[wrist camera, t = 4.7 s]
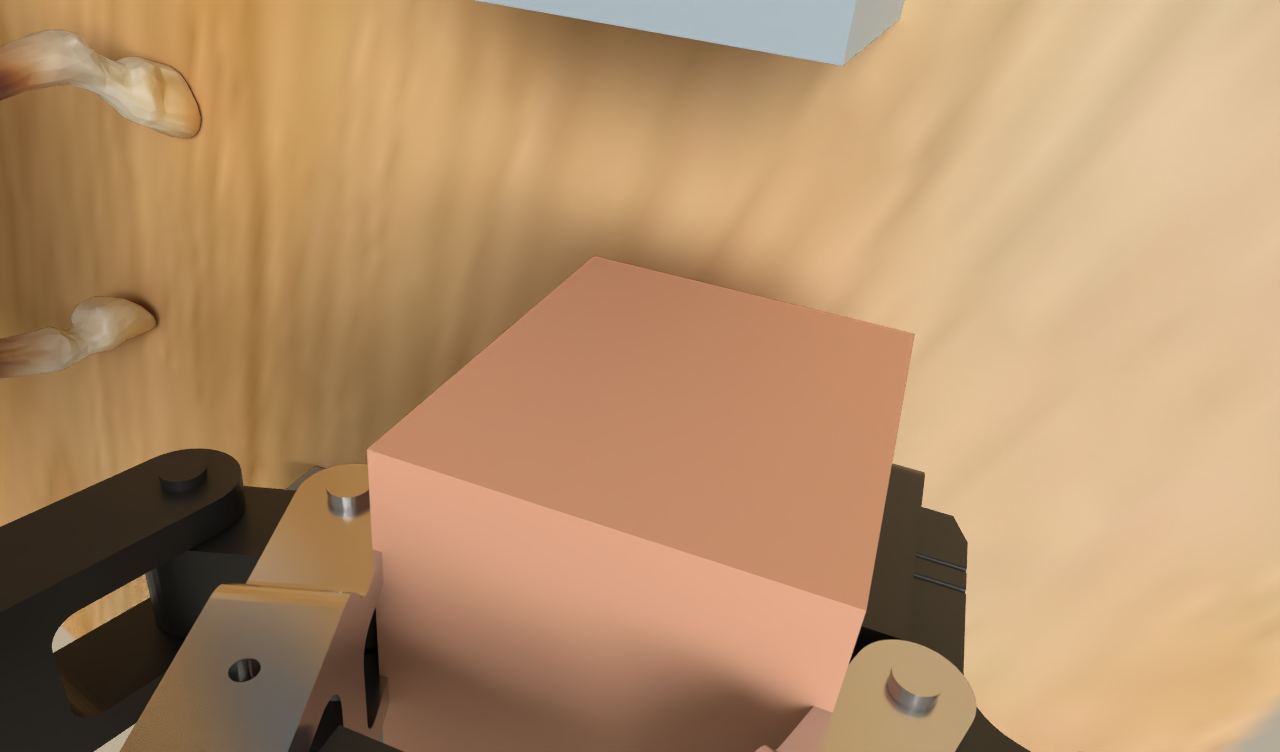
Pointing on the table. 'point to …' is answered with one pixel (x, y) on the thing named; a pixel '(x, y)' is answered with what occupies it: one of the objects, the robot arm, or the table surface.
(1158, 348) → the table surface
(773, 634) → the terracotta block
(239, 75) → the table surface
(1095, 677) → the table surface
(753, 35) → the slate blue block
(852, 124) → the table surface
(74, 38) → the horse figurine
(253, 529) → the robot arm
